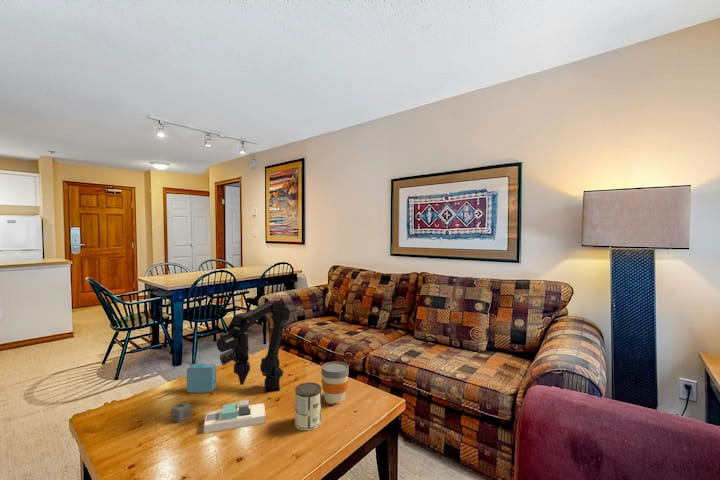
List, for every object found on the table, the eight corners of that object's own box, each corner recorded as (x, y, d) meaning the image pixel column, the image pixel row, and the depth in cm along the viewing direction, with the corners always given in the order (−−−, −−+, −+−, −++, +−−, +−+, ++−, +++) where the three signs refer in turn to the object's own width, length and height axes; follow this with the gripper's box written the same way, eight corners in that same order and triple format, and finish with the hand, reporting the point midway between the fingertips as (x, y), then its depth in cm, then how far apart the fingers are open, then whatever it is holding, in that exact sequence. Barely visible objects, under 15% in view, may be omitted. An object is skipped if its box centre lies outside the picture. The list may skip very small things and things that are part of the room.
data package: (216, 388, 158) (216, 363, 158) (212, 392, 154) (212, 367, 154) (190, 388, 158) (191, 363, 158) (186, 392, 153) (186, 367, 153)
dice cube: (182, 413, 136) (183, 401, 136) (191, 416, 134) (191, 404, 134) (171, 419, 131) (171, 407, 131) (179, 423, 129) (179, 410, 129)
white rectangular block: (248, 415, 134) (248, 399, 134) (248, 420, 131) (248, 404, 131) (238, 416, 133) (238, 400, 133) (238, 421, 129) (238, 405, 129)
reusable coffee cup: (315, 403, 146) (316, 369, 146) (328, 390, 158) (329, 359, 157) (341, 409, 141) (341, 374, 141) (352, 396, 153) (353, 364, 153)
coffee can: (302, 414, 137) (303, 380, 137) (325, 418, 134) (325, 384, 133) (289, 427, 127) (290, 391, 127) (313, 433, 124) (314, 396, 124)
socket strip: (263, 410, 139) (263, 402, 139) (265, 423, 130) (265, 414, 130) (206, 419, 132) (207, 410, 132) (204, 433, 123) (204, 424, 122)
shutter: (237, 408, 134) (237, 402, 134) (236, 417, 128) (236, 411, 128) (222, 410, 132) (222, 404, 132) (221, 420, 126) (221, 413, 126)
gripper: (221, 339, 147) (221, 373, 147) (220, 354, 130) (220, 393, 130) (247, 336, 151) (248, 370, 152) (249, 350, 134) (250, 388, 134)
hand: (241, 379), depth 142 cm, fingers open, 9 cm apart
